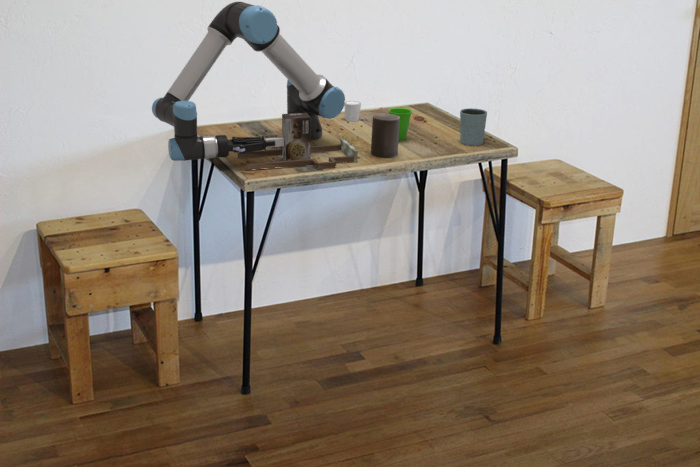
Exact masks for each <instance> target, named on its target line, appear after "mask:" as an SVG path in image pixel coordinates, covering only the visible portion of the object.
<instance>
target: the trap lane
mask: <svg viewBox="0 0 700 467" xmlns="http://www.w3.org/2000/svg"><path fill="white" fill-rule="evenodd" d="M339 140H340V142H339V144H328V145H327V144H325V145H313V146H312V145H311V154H313V153H323V152H324V153H325V152H326V153H327V152H339V151H341V152H342V153H343V154H344V155H345V156H343V155H342V156H330V157H328V161H324V162H323V161H322V162H321V161H320V162H319V161H318V160H317V159H316V158H311V159H304V160H292V161H284V160H282V161H281V160H280V161H269V162H257V163H246V171H247V170H252V169H261V168H275V167H288V168H294V167H293V166H300V167H307V166H306V165H313V166H314V167H315V168H314V167H313V166H312V167H313V168H314V169H317V168H318V169H317V170H325V169H324V168H329V169H336V167H337V164H344V163H345V162H348V163H358V158H359V157H358V152H359V151H358V149H356V148H355V147H354V146H353V145H352V144H350V143H349V142H348V141H347V140H345V138H340V139H339ZM236 154H237V159H249V158H261V157H274V156H282V146H279V147H275V148H274V149H273V148H272V149H266V150H259V151H253V152H247V153H243V154H240V151H239V152H236ZM343 162H344V163H343ZM345 164H346V163H345ZM335 166H336V167H335ZM252 171H253V170H252Z"/></svg>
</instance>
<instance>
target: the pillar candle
mask: <svg viewBox="0 0 700 467" xmlns="http://www.w3.org/2000/svg"><path fill="white" fill-rule="evenodd" d="M399 121H400V117H399V116H397V115H393V114H389V113H387V112H386V113H384V112H383V113H376V114H373V115H372V124H371V127H372V128H371V144H370V154H371V155H372V156H375V157H379V158H393V157H394V158H395V157H397V156H398V154H399V153H398V152H399V141H398V139H399Z"/></svg>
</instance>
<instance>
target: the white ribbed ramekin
mask: <svg viewBox="0 0 700 467" xmlns="http://www.w3.org/2000/svg"><path fill="white" fill-rule="evenodd" d="M344 103H345V104H344V107H343V108H344V120H345V121H346V122H347V121H348V122H358V121H360V115H361V107H362V106H361V105H362V103H361V102H360V101H357V100H347V101H344Z"/></svg>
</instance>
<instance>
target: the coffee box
mask: <svg viewBox="0 0 700 467" xmlns="http://www.w3.org/2000/svg"><path fill="white" fill-rule="evenodd" d="M281 126H282V127H281V131H282V132H281V134H282V135H281V137H283V138H284V146H282V155H281V159H282V161H292V160H304V159H312V158H311V155H312V153H311V146H312V145H311V144H312V142H311V141H312V140H311V117H310V116H309V115H308V113H291V114H287V113H282V114H281Z"/></svg>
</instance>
